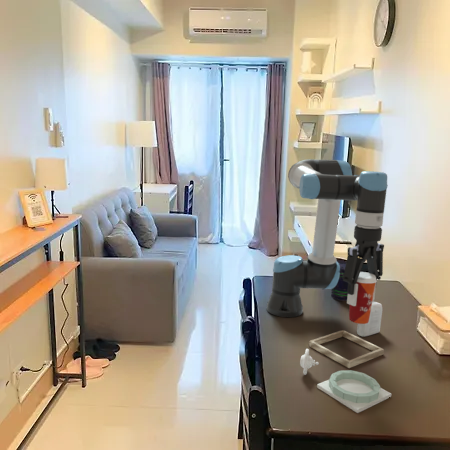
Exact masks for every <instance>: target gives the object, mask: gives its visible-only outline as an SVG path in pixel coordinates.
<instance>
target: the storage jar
mask: <svg viewBox="0 0 450 450" xmlns="http://www.w3.org/2000/svg"><path fill="white" fill-rule="evenodd" d="M338 263H339V265H340V271H339V272H340V275H339V280H338V283H337V285H336V286H335V287H334V288H332V289H330V293H331V294H330V297H331V298H332V299H334V300H338V301H341V302H342V301H343V302H344V301H346V302H347V297H348V293H347V290H348V282H345V281H343V277H344V272H345V267H346V262H345V263H343V262H342V263H341V262H338Z"/></svg>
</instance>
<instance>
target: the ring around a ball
mask: <svg viewBox="0 0 450 450" xmlns="http://www.w3.org/2000/svg"><path fill="white" fill-rule="evenodd" d="M318 365H319V361H316V359H313V357H312V356H311V355H310V349H309V348H306V349H305V352H304V354H302V355H301V357H300V361H299V366H300V367H301V368H303V371H302V374H303V376H306V375H307V374H308V369H310V368H312V367H315V366H318Z"/></svg>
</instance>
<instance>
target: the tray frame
mask: <svg viewBox="0 0 450 450" xmlns="http://www.w3.org/2000/svg"><path fill="white" fill-rule="evenodd" d="M339 338H340V339H341V338H345V339H346V340H347V339H348V340H349V341H351V342H354V343H356V344H357V345H360V346H362V347H363V348H366V349H368V350H369V351H370V352H367V353H365V354H362V355H360V356H357V357H355V358H352V359H347V358H346V357H344V356H341V355H340V354H338V353H336V352H334V351H333V350H330V349H329V348H326V347H325V346H323V345H321V344H325V343H328V342H331V341H334V340H336V339H337V340H338V339H339ZM308 347H309V348H311V349H314V350H316V351H317V352H318V353H321V354H322V355H325V356H326V357H327V358H330V359H331V360H333V361H335V362H337V363H339V364H340V365H342V366H344V367H346V368H348V369H350V368H351V369H352V368H354V367H356V366H358V365H360V364H363V363H366V362H368V361H371V360H373V359H376V358H379V357H381V356H382V355H384V350H385V349H384V348H382V347H380V346H378V345H376V344H373V343H372V342H369V341H367V340H366V339H363V338H361V337H360V336H357V335H355V334H352V333H351V332H349V331H346V330H345V329H342V330H338V331H336V332H333V333H330V334H326V335H323V336H319V337H318V338H315V339H311V340H309V341H308Z"/></svg>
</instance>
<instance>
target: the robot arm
mask: <svg viewBox="0 0 450 450" xmlns="http://www.w3.org/2000/svg"><path fill="white" fill-rule="evenodd" d="M352 172H353V171H352V167H351V165H350V163H349V162H347V160H346V161H345V160H339V159H313V158H311V159H310V158H308V159H303V160H300V161H296V162H295V163H294V164H292V165H291V167H290V168H289V170H288V175H287V177H288V181H289V183H290V185H292V186H293V187H294V188H296V189H299V196H300V197H301V198H303V199H308V200H317V201H318V202H317V208H316V209H317V210H316V216H315V225H314V226H315V227H314V235H313V242H312V243H313V244H312V251H311V253H309V254H308V255H307V259H305V260H303V259H304V258H303V257H302V256H300V255H292V254H289V255H283V256H282V255H281V256H279V257H277V258H276V259H275V260H274V262H273V268H272V273H273V274H272V283H271V284H272V286H271V294H270V296H269V299H268V301H267V304H266V311H267V312H268V313H270V314H271V315H274V316H277V317H282V318H296V317H299V316H301V315H302V314H303V312H304V311H303V309H304V306H303V304H302V298H301V294H300V293H301V289H311V290H312V289H313V290H315V289H316V290H328V289H329V290H331V289H332V288H334V287H335V286H336V285H337V283H338V280H339V275H340V272H339V271H340V265H339V263H340V262H339V261H337V257H335V255H334V254H335V253H334V252H335V246H336V245H335V244H336V237H337V230H338V222H339V216H340V208H341V201H355V202H356V210H355V220H354V224H355V226H354V230H353V231H354V232H353V238H354V239H355V240H356V242H355V245H354V246H353V247H350V246H349V247H347V258H346V262H345V264H346V267H345V272H344V277H343V281H345V282H348V290H347V293H348V297H347V301H346V304H348V305H349V306H350V305H352V306H356V301H357V291H358V284H356V282H357V279H358V277H359V274H360V272H362V268H363V265H364V263H366V264H367V270H368V273H371V274H373V275H375V276H376V280H377V282H376V283H375V289H374V294H373V300H372V302H375V299H376V298H375V296H376V288H377V283H378V280H379V281H380V280H381V279H382V278H381V277H382V276H383V274H384V271H383V270H384V269H383V268H384V267H383V265H384V263H383V262H384V259H383V258H384V256H383V255H384V249H385V244H383V243H379V242H380V241H381V239H382V233H383V229H382V226H383V223H384V213H385V207H386V206H385V205H386V197H387V195H386V194H387V188H388V174H387V173H386V172H384V171H383V172H381V171H373V170H372V171H370V170H367V171H365V170H363V171H361V172H360V174H354V175H353V173H352Z"/></svg>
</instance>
